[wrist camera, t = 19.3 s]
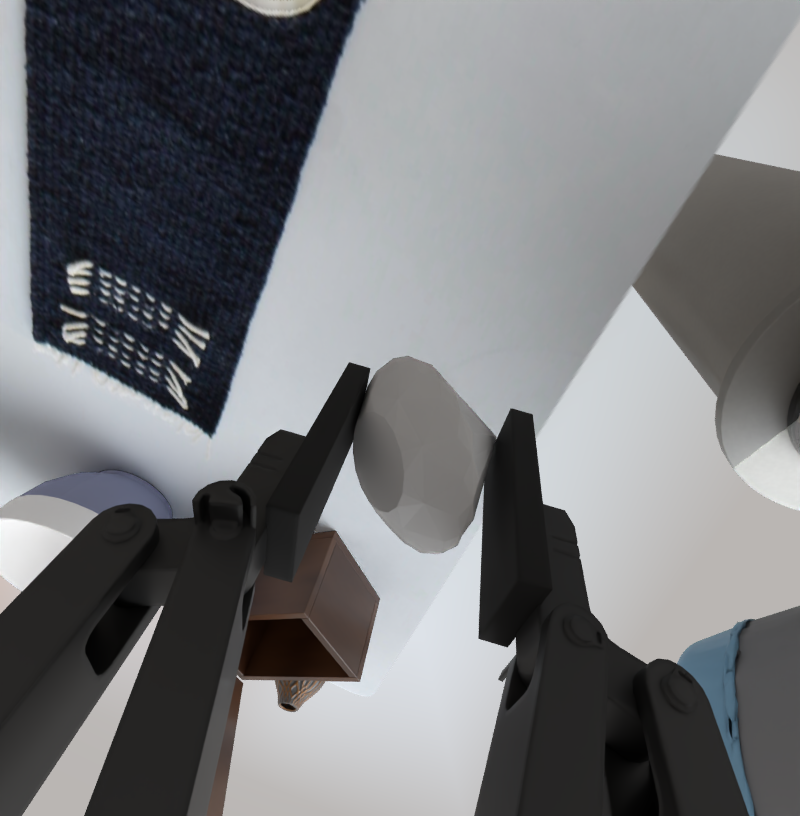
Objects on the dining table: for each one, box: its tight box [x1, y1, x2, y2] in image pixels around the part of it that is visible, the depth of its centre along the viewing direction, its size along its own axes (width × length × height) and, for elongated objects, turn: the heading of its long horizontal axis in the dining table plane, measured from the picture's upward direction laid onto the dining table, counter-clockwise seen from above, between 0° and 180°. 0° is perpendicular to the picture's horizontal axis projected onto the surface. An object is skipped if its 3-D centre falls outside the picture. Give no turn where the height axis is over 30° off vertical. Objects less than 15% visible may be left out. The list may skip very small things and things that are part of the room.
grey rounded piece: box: [353, 356, 496, 554], centre depth 14 cm, size 6×6×5 cm
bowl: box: [0, 470, 172, 592], centre depth 43 cm, size 16×16×10 cm
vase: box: [275, 680, 325, 712], centre depth 53 cm, size 7×7×9 cm
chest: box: [237, 531, 380, 682], centre depth 45 cm, size 15×12×9 cm
